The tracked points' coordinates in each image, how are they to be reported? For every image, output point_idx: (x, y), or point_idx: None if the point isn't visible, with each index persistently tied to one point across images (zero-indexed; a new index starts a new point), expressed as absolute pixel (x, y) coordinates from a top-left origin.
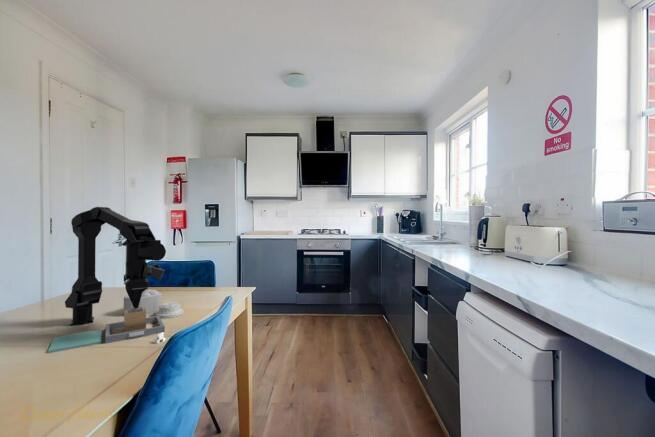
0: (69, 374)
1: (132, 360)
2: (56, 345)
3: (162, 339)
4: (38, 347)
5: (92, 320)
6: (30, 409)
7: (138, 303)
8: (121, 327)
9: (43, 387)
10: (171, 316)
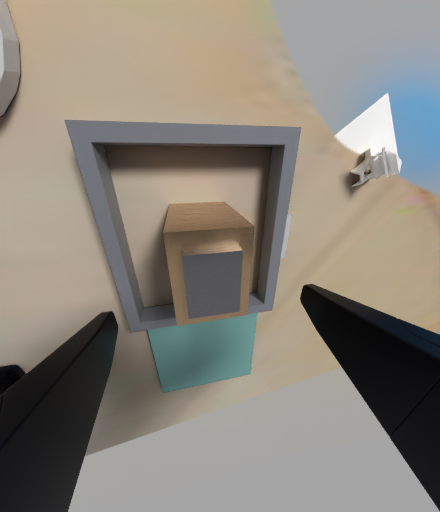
0: None
1: (413, 237)
2: (226, 373)
3: (367, 156)
4: (203, 391)
5: (2, 372)
6: (427, 327)
7: (342, 301)
8: (136, 280)
9: None
10: (5, 12)
